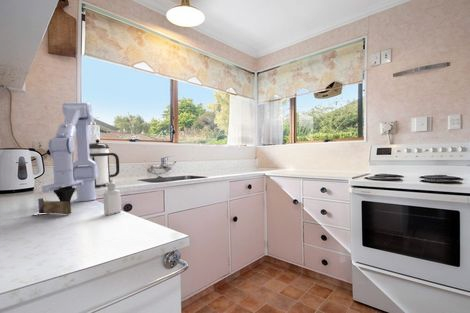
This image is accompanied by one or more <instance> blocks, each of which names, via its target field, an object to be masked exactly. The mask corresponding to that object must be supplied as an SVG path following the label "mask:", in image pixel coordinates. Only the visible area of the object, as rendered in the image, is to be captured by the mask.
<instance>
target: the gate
mask: <svg viewBox="0 0 470 313" xmlns="http://www.w3.org/2000/svg"><path fill="white" fill-rule="evenodd" d="M42 204H43V210H44V213H50V214H57V215H58V214H59V215H69V214H71V213H72V208H71V206H72V205H71V201H70V202H65V201H60V200H58V201H57V200H45V201H43V202H42Z"/></svg>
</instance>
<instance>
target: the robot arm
mask: <svg viewBox="0 0 470 313" xmlns="http://www.w3.org/2000/svg"><path fill="white" fill-rule="evenodd" d="M61 107H62V108H61V109H62V113H63V115H64V121H63V123H60V124H59V126H58V128H57V130H56V134H55V135H54V137H52V138H50V139H49V141H48V150H49V152H50V153H49V154H50V158H51V159H52V171H53V182H54V183H51V184H46V185H41V190H42V191H41V192H42V193H49V192H51V191H53V193H54V194H55V195H56V197H57V198H58V201H65V202H71V200H72V197H73V195H74V193H75V192H76V199H75V201H74V202H75V203H77V202H88V201H96V199H97V198H98V195H96V188H95V181H94V180H95V179H96V178H97V177H98V168H97V163H96V162H95V161H93V160H91V159H90V154H89V144H90V140H89V125H90V123H91V122H93V108H92V106H91V104H90V102H71V101H70V102H67V101H65V102H63V104H62V106H61ZM75 138H76V150H77V151H76V152H77V160H75V161H74V162H73V153H74V151H75ZM88 165H90V166H88Z"/></svg>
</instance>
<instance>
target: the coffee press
mask: <svg viewBox="0 0 470 313" xmlns="http://www.w3.org/2000/svg"><path fill="white" fill-rule="evenodd" d="M109 149H110V147H109V145H108V144H107V143H102V142H100V140H99V139H98V138H97V139H95V143H89V154H90V159H91V160H93V161H95V162H96V163H97V168H98V177H97V178H96V179H95V180H94V181H95V189H96V188H97V186H101V185H108V183H110V180H111V178H114V177H116V176H117V177H118V175H119V174H120V158H119V156H118V154H116V153H114V152H109V151H110V150H109ZM110 156H113V157H114V158H115V173H113V174H111V173H110V172H111V171H110V168H111V167H110ZM87 166H90V165H87Z"/></svg>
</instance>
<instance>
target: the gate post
mask: <svg viewBox="0 0 470 313" xmlns="http://www.w3.org/2000/svg"><path fill="white" fill-rule="evenodd" d="M37 201H38V212H39V213H44V210H43V204H42V202H43V201H46V197H41V198H38V199H37Z"/></svg>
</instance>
